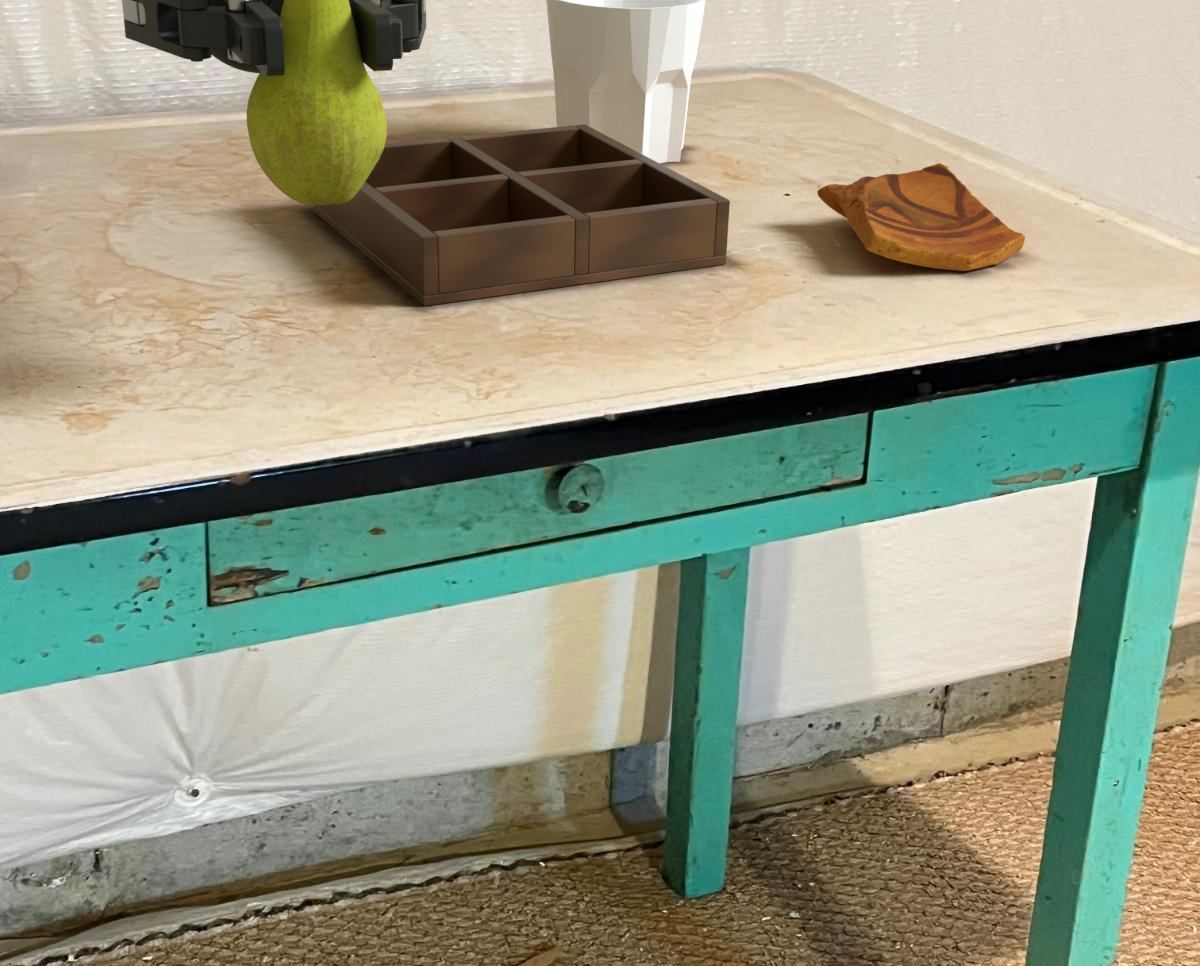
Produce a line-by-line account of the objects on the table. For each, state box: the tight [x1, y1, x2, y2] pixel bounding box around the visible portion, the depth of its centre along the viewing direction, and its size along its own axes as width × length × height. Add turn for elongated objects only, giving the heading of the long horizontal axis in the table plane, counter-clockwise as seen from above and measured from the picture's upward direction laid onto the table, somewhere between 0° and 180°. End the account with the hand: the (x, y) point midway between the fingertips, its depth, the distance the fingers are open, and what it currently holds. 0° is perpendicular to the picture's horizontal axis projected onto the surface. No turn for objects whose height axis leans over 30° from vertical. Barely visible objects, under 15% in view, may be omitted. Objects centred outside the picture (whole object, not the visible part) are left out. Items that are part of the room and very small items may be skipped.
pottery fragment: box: [816, 162, 1026, 272], centre depth 94 cm, size 10×5×10 cm
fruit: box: [246, 0, 388, 206], centre depth 69 cm, size 6×6×12 cm
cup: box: [545, 0, 707, 164], centre depth 109 cm, size 10×10×10 cm
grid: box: [312, 124, 731, 307], centre depth 94 cm, size 17×17×4 cm
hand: (330, 46), depth 66 cm, fingers closed on fruit, 3 cm apart
